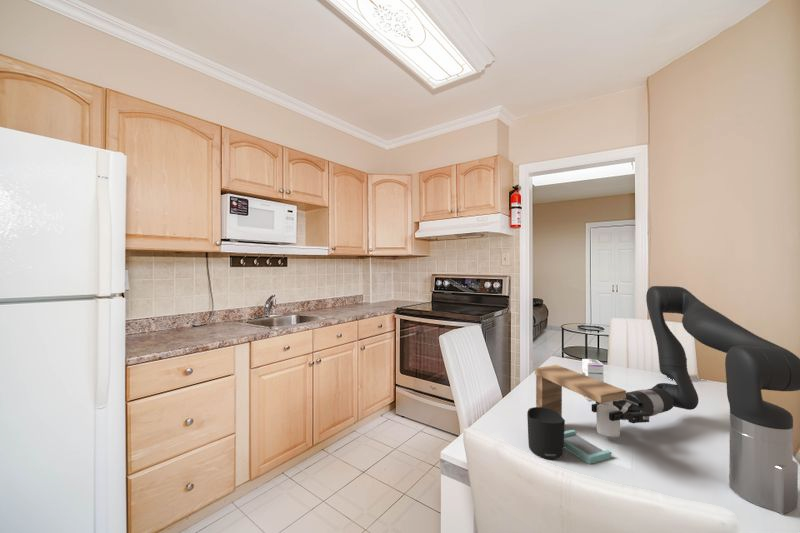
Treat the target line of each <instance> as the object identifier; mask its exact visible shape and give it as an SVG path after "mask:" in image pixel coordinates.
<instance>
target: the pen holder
mask: <svg viewBox="0 0 800 533" xmlns="http://www.w3.org/2000/svg"><path fill="white" fill-rule="evenodd" d="M526 416H527V437H528V439H527V440H528V448H529V450H530V451H531V452H532V453H533V454H534V455H536V456H538V457H540V458H543V459H544V460H545V459H546V460H551V461H552V460H558V459H560V458H561V457H563V454H564V432H565V425H566V424H565V422H566V419H564V418H563V416H562V417H561V415H560V414H559V413H558V412H556V411H555V410H552V409H549V408H544V407H536V406H534V407H530V408H528V410H527V415H526Z"/></svg>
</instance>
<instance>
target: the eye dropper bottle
mask: <svg viewBox="0 0 800 533" xmlns="http://www.w3.org/2000/svg"><path fill="white" fill-rule="evenodd" d="M614 411H619V409H618V408H617V407H616V406H613V401H610V402H605V403H603V404H599V405H597V412H596V431H597V432H598V434H600V435H603V436H608V437H613V438H615V437H617V438H618V437H620V436H621V420H617V421H611V420H609V413H610V412H614Z"/></svg>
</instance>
